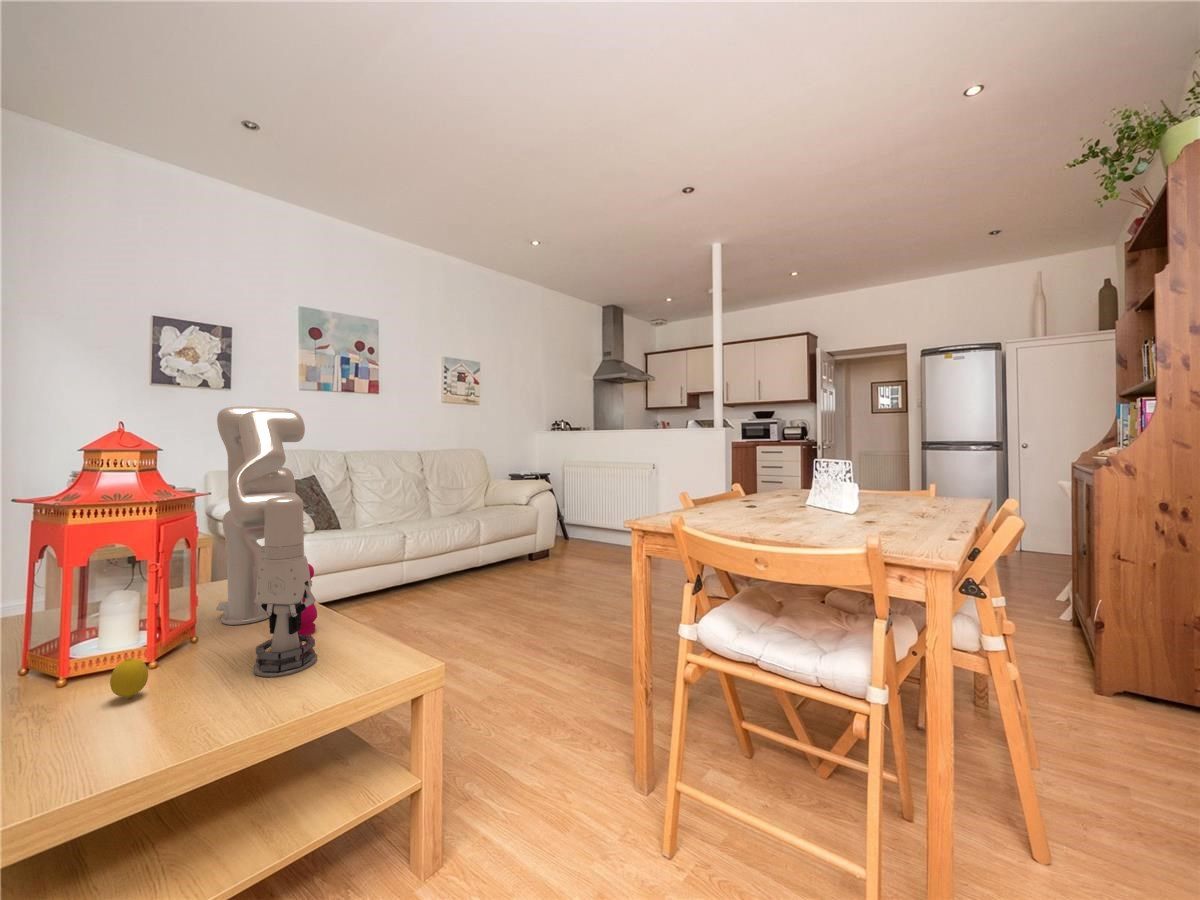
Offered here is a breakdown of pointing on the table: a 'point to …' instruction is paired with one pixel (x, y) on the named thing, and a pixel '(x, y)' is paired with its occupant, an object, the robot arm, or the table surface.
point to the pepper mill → (308, 613)
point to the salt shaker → (283, 632)
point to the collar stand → (271, 668)
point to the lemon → (129, 677)
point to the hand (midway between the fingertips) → (285, 630)
